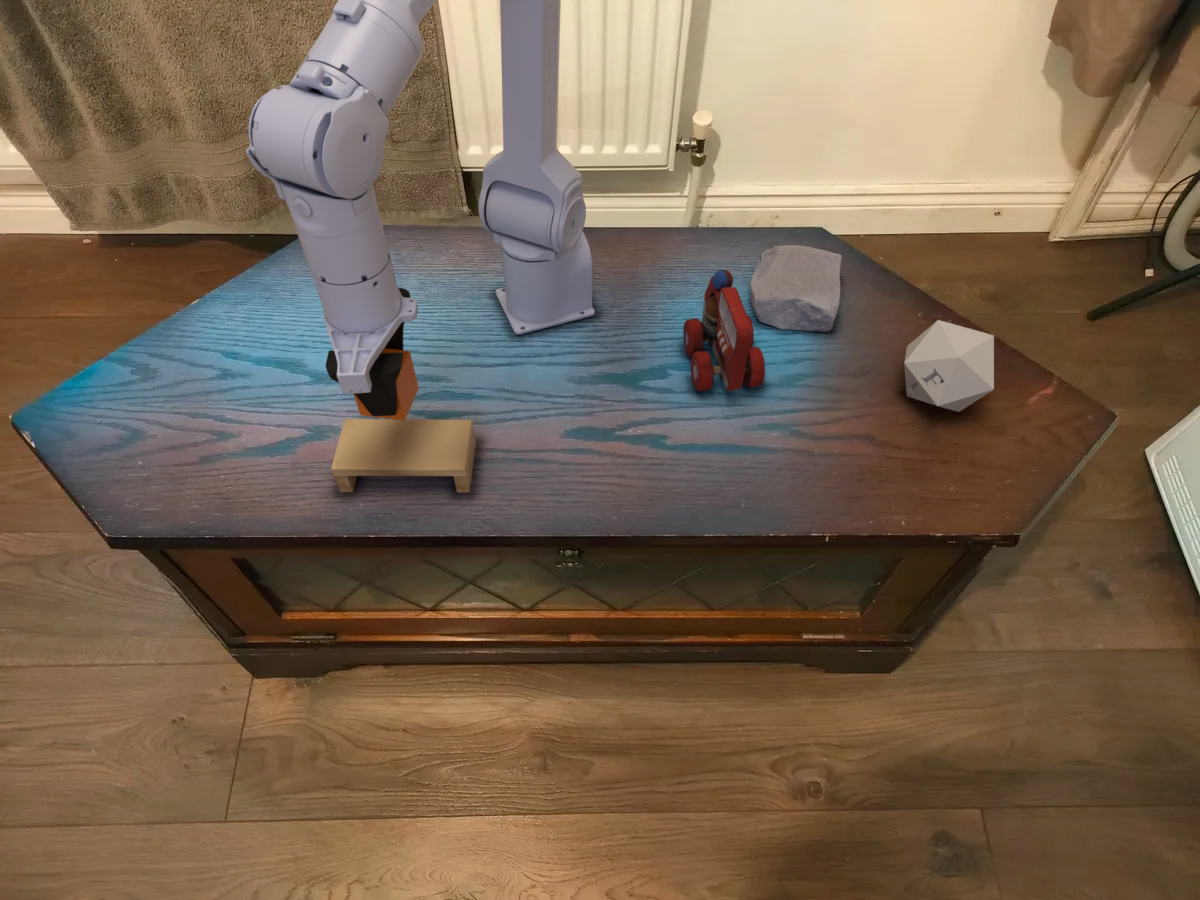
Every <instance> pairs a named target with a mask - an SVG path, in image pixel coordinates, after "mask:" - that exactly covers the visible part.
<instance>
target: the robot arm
mask: <svg viewBox="0 0 1200 900" xmlns="http://www.w3.org/2000/svg"><path fill="white" fill-rule="evenodd" d="M436 1H437V0H337V2H336V3H335V5H334V7H333V9H332V14H331V16H330V18H329V19H328V21H327V22H326V24H325V26H324V27H323V28H322V30H321V32H320V34H319V35H318V37H317V39H315V41H314V43H313V45H312V47H311V48H310V50H309V51H308V53H307V54H306V56H305V58H304V59H303V61H302V63H301V64H300V66H299V67H298V69H297V71H296V73H295V74H294V76H293V78H292V79H291V80H290V81H289V84H282V85H278V89H277V88H272V89H270V90H269V91H268V92H266V93H265V94H263V95H262V96H261V97H260V98H259V99H257V101H256V102H255V104H254V106H253V108H252V110H251V112H250V116H249V120H248V121H249V122H248V131H247V132H248V140H249V147H247V148H246V151H245V153H246V155H247V158H248V160H249V161H250V163H251V165H252V166H253V168H255V170H256V171H258V173H260V174H261V175H262V176H264V177H266V178H268V179H269V180H270V181H271V182H272V183H273V185H274V187H275V190H276V193H277V195H278V198H279V199H280V200H283V201H284V202H285V203H286V205H287V208H288V212H289V213H290V216H291V220H292V223H293V225H294V229H295V231H296V235H297V237H298V240H299V243H300V247H301V249H302V251H303V254H304V258H305V261H306V264H307V267H308V269H309V271H310V275H311V278H312V281H313V284H314V287H315V289H316V293H317V296H318V299H319V302H320V304H321V307H322V318H323V321H324V322H323V323H324V325H325V327H326V331H327V333H328V338H329V341H330V343H331V346H332V350H328V352H327V357H326V361H325V370H326V372H327V375H328V377H329V378H330V379H331V380H333V381H335V382H336V383H338V384H339V386H340V390H341V393H342V394H345V395H346V394H353V393H354V394H355V395H356V397H357V398H358V399H359V400H360V401H361V403H362V404H363V405H364V407H365V408H366V409H367V410H368V412H369V413H370V414H371V415H372V416H393V415H396V412H397V403H398V398H397V383H396V380H397V378H398V376H399V373H400V370H401V366H402V359H403V353H381V352H382V350H383V349H384V348H387V349H396V350H404V327H405V322H413V321H415V320H416V319H417V317H418V310H419V305H418V301H417V299H416V298H415V297H412V296H411V293H410V291H409V290H408V289H406V288H403V287H398V284H397V280H396V279H397V278H396V275H395V270H394V267H393V263H392V258H391V254H390V250H389V246H388V242H387V237H386V233H385V230H384V224H383V221H382V217H381V211H380V208H379V203H378V200H377V196H376V195H377V194H376V191H375V187H374V182H375V181H376V180H377V179H378V178H379V175H380V173H381V170H382V167H383V163H384V156H385V143H386V139H387V136H388V135H389V132H390V129H389V127H390V125H391V123H390V120H389V119H388V116H389V115H390V113H391V111H392V109H393V107H394V106H395V104H396V103H397V101H398V99H399V97H400V96H401V94H402V92H403V90H404V88H405V87H406V85H407V83H408V82H409V81H410V78H411V76H412V74H413V72H414V71H415V69H416V68H417V66H418V64H419V63H420V61H421V59H422V57H423V54H424V43H423V39H422V35H421V30H420V28H419V25H420V23H421V22H422V21H423V19H424V18H425V16H426V15H427V14H428V12H429V11H430V9H431V8H432V7H433V5H434V4H435V2H436ZM561 5H562V0H499V11H500V54H501V56H500V57H501V58H500V59H501V101H502V102H501V103H502V106H501V107H502V148H503V150H501V151H500V152H497V153H496V154H495V155H494V156H492V157H491V158H490V159H489V160H488V161H487V162H486V164H485V165H484V167H483V168H482V184H481V189H480V193H479V197H478V207H477V208H478V216H479V220H480V224H481V225H482V227H483V228H484V229H485V230H486V231H488V232H492V236H493V242H494V243H496V244H498V245H499V246H500V255H501V264H502V274H503V282H504V287H500V288H496V289H495V296H496V298H497V299H498V302H499V304H500V306H501V309H502V310H503V312H504V314H505V316H506V318H507V320H508V323H509V324H510V326H511V329H512V331H513V332H514V334H515V335H523V334H527V333H532V332H535V331H540V330H543V329H546V328H552V327H555V326H558V325H562V324H566V323H570V322H571V323H572V322H575V321H579V320H582V319H586V318H590V317H594V316H595V314H596V313H595V308H594V307H593V269H594V268H593V267H594V266H593V259H592V253H591V247H590V245H589V241H588V239H587V237H586V235H585V233H584V231H583V230H584V227H585V223H586V217H587V207H586V202H585V200H584V193H583V175H582V173H580V171H579V170H578V169H577V168H576V167H575V166H574V165H573V164H572V163H571V162H570V161H569V160H568V159H567V158H566V157H565V156H564V155H563V154H562V153H561V151H559V149H558V121H559V120H558V117H559V115H558V113H559V84H560V83H559V81H560V80H559V79H560V49H561V48H560V46H561V44H560V43H561V9H562V7H561ZM404 351H405V350H404ZM354 394H353V395H354Z"/></svg>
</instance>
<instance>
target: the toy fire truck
mask: <svg viewBox="0 0 1200 900" xmlns="http://www.w3.org/2000/svg"><path fill="white" fill-rule="evenodd" d="M733 285H734V276H733V275H732V273H731V272H730V271H729V270H727V269H720V270H717V271H716V272H715V273H714V275H713V276H711V277H710V280H709V283H708V285H707V287H706V290H705V291H704V297H703V305H702V306H703V308H702V318H701V320H700V319H699V318H689V319H685V321H684V324H683V344H684V350H685V353H686V355H687V356H688V357H689V358H691V359H690V372H691V373H690V374H691V381H692V384H693V387H694V389H695V390H696V392H704V391H710V390H711V389H712V387H713V386H714V376H719V379H720V381H722V383H723V387H724V389H725V390H726V392H732V391H739V390H741V389H742V387H743V384H744V386H745V387H747V388H756V387H761V386H762V385H763V383H764V381H765V377H766V362H765V357H764V354H763V351H762V350H761V348H760V347H758V346H753V345H754V338H755V337H754V334H755V333H754V325H753V321H752V318H751V316H749V315H748V314H747V312H746V309H745V305H744V304H743V301H742V299H741V296H740V293H739V291H738V289H737V287H735V286H733ZM707 342H708V345H709V347H710V348H711V350H712V354H713V357H714V359H715V362H716V365H713V360H712V357H711V355H710V352H708V351H707V350H705V349H704V348H705V345H704V344H705V343H707Z"/></svg>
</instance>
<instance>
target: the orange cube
mask: <svg viewBox="0 0 1200 900" xmlns="http://www.w3.org/2000/svg"><path fill="white" fill-rule="evenodd" d="M381 353H403V359H402V366H401V370H400V373H399V376H398V378H397V380H396V383H397V398H398V403H397V412H396V415H393V416H372V415H371V414H370V413H369V412H368V410H367V409H366V408H365V407H364V405H363V404H362V403H361V401H360V400H359V399H358V398H357V397H356V395H355V394H354V393H352V395H353V397H354V401H355V403H356V406H357V409H358V411H359V415H360V416H364V417H372V418H378V419H394V420H402V421H405V420H407V418H408V415H409V412H410V410H411V407H412V405H413V403H414V401H415V398H416V395H417V394H418V391H419V390H420V386H419V382H418V379H417V373H416V371H415V366H414V362H413V358H412V354H411V351H409V350H396V349H387V348H384V349H383V350H382V352H381Z"/></svg>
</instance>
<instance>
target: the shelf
mask: <svg viewBox="0 0 1200 900" xmlns="http://www.w3.org/2000/svg"><path fill="white" fill-rule="evenodd" d="M475 435H476V434H475V430H474V423H473V420H472V419H405V421H402V420H394V419H386V418H378V419H377V418H376V419H371V418H370V419H369V418H368V419H367V418H365V419H364V418H345V419H344V420H343V424H342V427H341V431H340V434H339V438H338V442H337V446H336V448H335V453H334V457H333V460H332V463H331V467H330V470H331V473H332V475H333V477H334V480H335V482H336V485H337V487H338V490H339V492H340V493H354V490H355V486H356V482H357V478H358V477H365V476H366V477H453V480H454V485H455V490H456V493H470V492H471V486H472V478H473V470H474V462H475V454H476V446H477V443H476V442H477V441H476V436H475Z"/></svg>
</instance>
